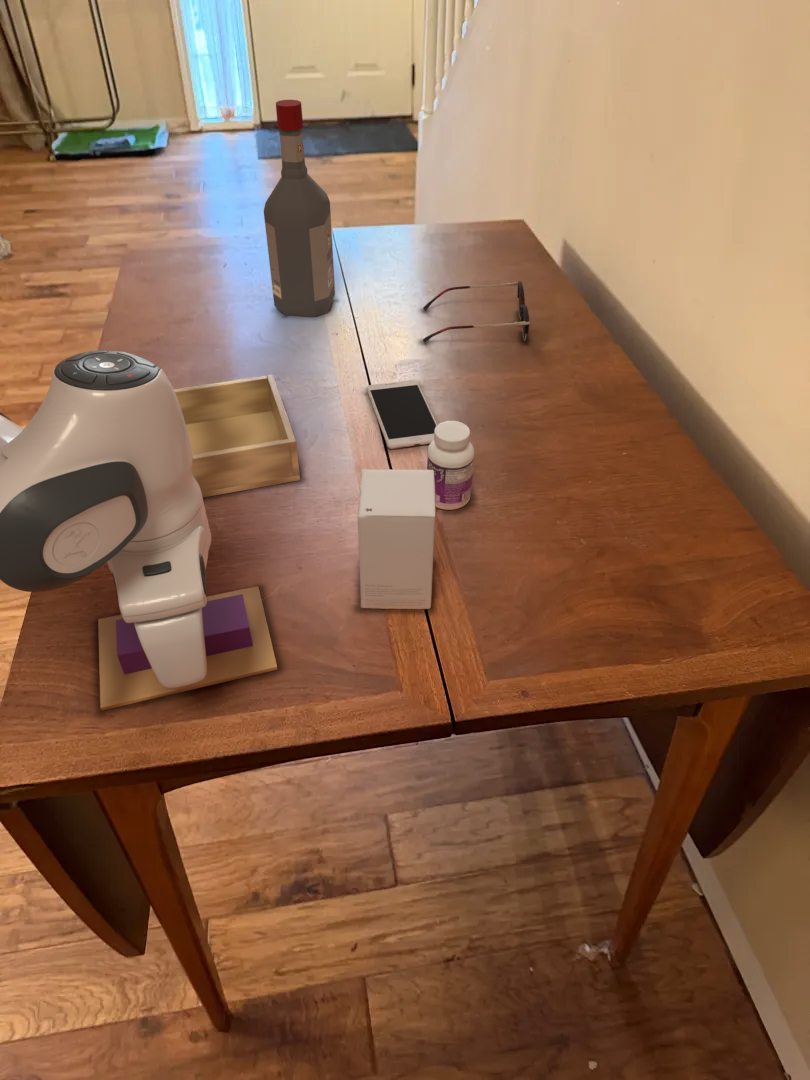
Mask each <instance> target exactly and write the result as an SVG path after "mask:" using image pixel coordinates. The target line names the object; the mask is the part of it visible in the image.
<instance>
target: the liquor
mask: <svg viewBox="0 0 810 1080" xmlns="http://www.w3.org/2000/svg"><path fill="white" fill-rule="evenodd" d="M275 112H276V122H277V129H278V130H279V144H280V155H281V170H280V176H281V177H280V178H279V181H278V182H277V183H276V185H275V187H274V189H273V190H272V192H271V193H270V194H269V196H268V198H267V199H266V201H265V203H264V208H263V219H264V228H265V235H266V244H267V254H268V261H269V262H268V263H269V271H270V278H271V279H270V280H271V288H272V298H273V305H274V307H275V308H276V310H277V311H279V312H280V313H282V314H283V315H284V316H288V317H290V316H291V317H304V318H305V317H306V318H316V317H319V316H323V315H325V314H328V313H329V310H330V308H331V305H332V304H333V300H334V298H335V295H336V286H335V285H336V284H335V283H336V282H335V267H334V249H333V233H332V216H331V215H332V213H331V201H330V198H329V196H328V193H327V192H326V191H325V190H324V189H323V188H322V187H321V186H320V185H319V184H318V183H317V181H315V180H314V178H312V177H311V176H310V174H308V167H307V165H306V159H305V147H304V137H303V128H304V121H303V119H304V118H303V107H302V101H300V100H298V99H282V100H277V101H276V102H275Z"/></svg>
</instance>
